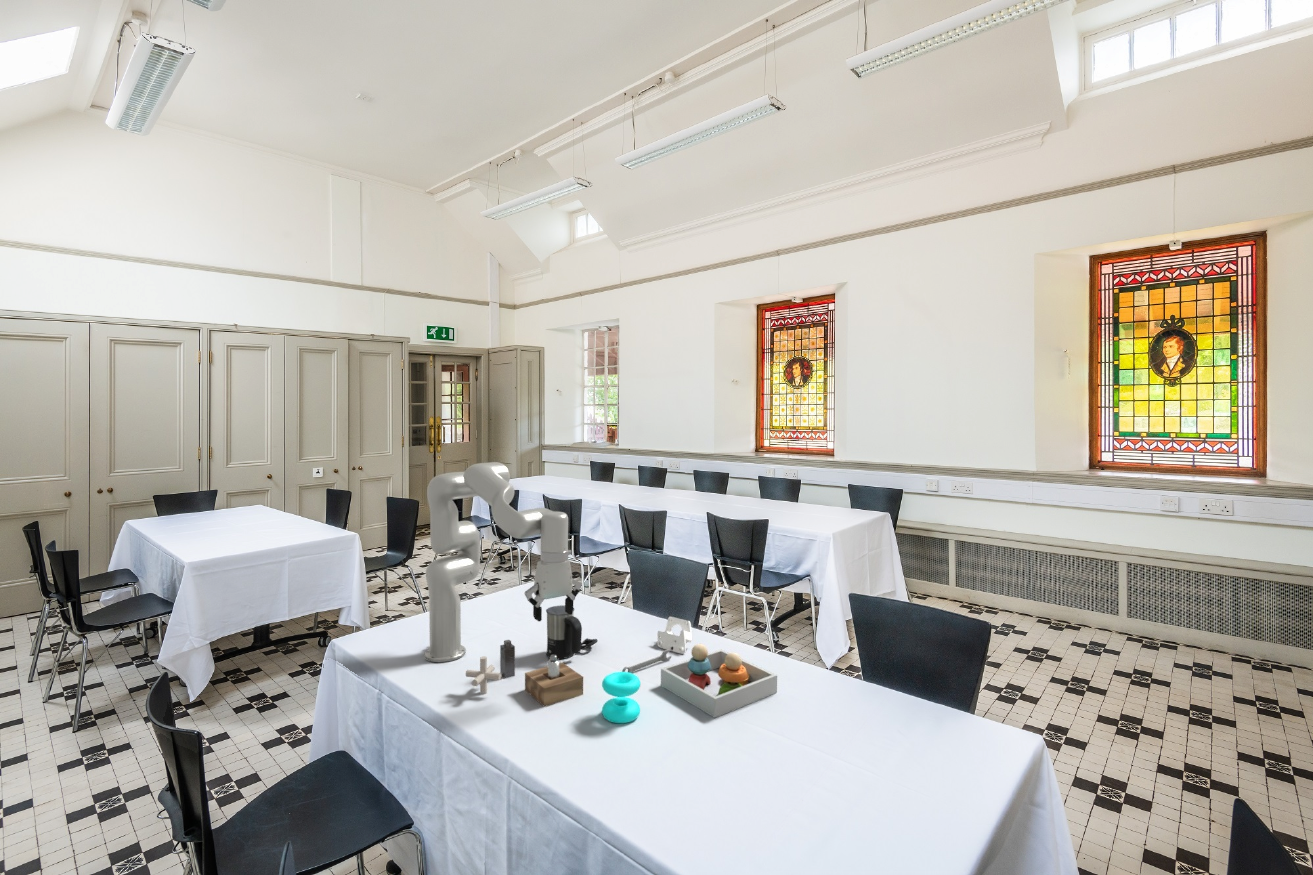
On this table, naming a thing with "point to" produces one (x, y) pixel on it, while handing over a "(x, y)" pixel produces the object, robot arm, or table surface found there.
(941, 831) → the table surface
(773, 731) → the table surface
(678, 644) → the mounting bracket
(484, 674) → the pipe connector
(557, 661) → the round bit
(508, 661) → the square bit
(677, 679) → the parts tray
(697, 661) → the stacking toy figures
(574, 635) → the milk frother
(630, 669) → the combination wrench
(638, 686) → the donuts
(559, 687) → the socket block
